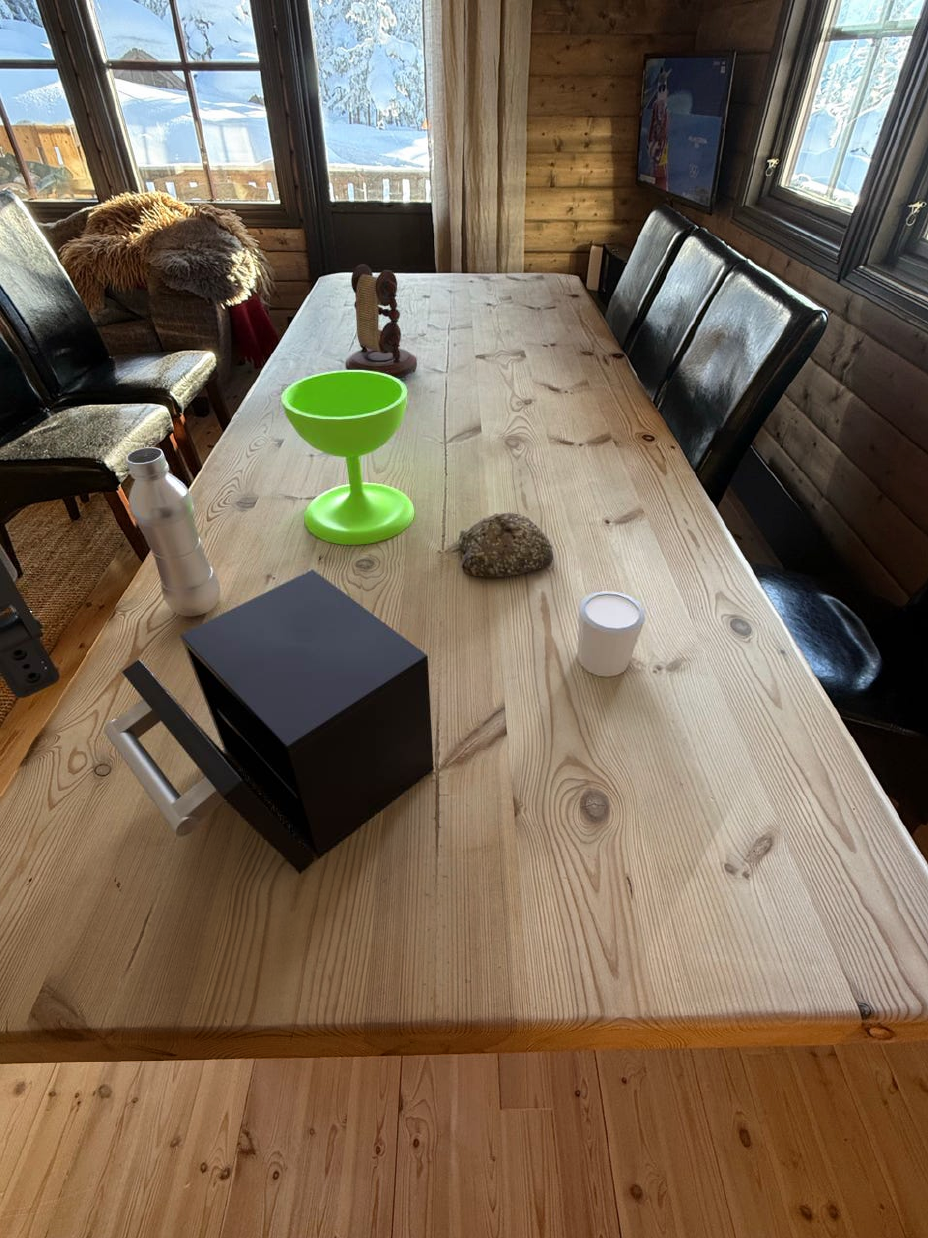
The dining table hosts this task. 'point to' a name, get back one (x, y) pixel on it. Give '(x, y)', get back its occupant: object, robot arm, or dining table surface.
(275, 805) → the oven
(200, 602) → the silver bottle
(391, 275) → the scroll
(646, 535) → the dining table surface
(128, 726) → the oven door
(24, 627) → the robot arm
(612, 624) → the white cylindrical container
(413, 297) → the dining table surface
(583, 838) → the dining table surface
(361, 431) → the wineglass
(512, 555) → the bread roll
